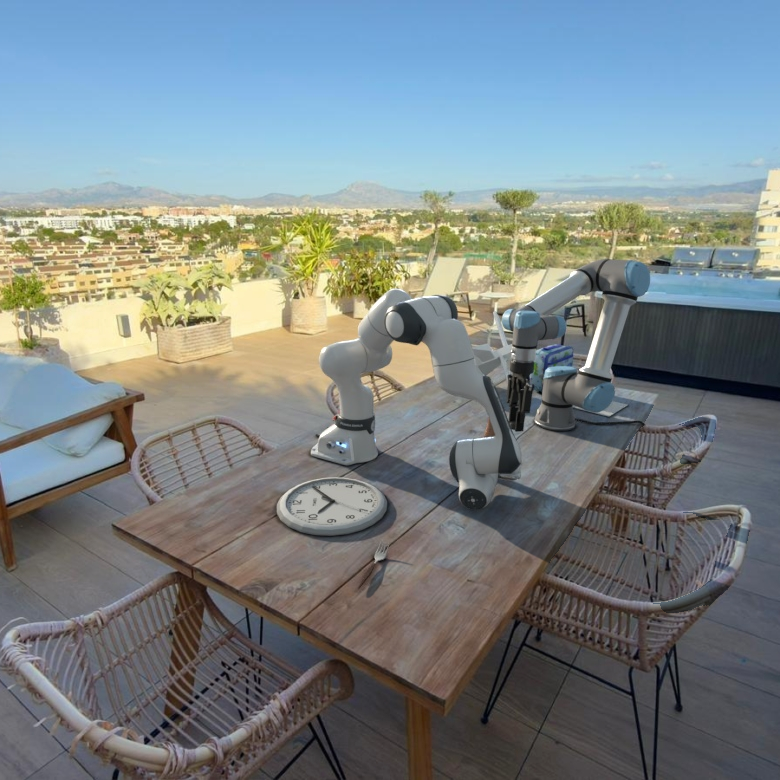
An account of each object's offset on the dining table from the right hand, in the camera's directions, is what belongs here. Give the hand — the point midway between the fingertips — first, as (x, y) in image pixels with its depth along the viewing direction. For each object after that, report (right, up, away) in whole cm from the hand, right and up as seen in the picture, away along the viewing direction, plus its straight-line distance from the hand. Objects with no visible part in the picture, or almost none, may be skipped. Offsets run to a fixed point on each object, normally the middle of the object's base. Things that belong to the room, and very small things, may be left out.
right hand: (515, 428), depth 173 cm
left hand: (-11, -7, -13) cm, 18 cm away
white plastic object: (0, +12, +70) cm, 71 cm away
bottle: (-11, -14, -11) cm, 21 cm away
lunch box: (+35, +13, +77) cm, 85 cm away
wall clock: (-57, -19, -31) cm, 68 cm away
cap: (0, +2, -1) cm, 2 cm away
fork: (-46, -27, -57) cm, 78 cm away
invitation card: (+50, +5, +53) cm, 73 cm away
